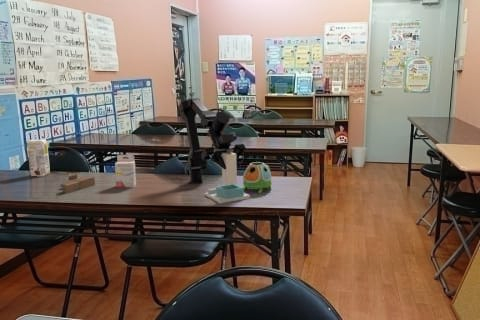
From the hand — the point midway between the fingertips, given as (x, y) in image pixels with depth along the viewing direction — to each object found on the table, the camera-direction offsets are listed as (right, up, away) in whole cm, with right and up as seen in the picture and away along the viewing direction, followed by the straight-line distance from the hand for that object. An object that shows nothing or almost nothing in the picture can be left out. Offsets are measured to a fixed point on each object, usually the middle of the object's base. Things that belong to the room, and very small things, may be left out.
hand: (230, 168), depth 179 cm
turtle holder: (+12, -10, +18) cm, 24 cm away
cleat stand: (-2, -12, +6) cm, 13 cm away
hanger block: (-1, -6, +2) cm, 7 cm away
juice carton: (-102, -5, +53) cm, 115 cm away
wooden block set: (-77, -10, +27) cm, 82 cm away
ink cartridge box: (-50, -9, +26) cm, 57 cm away
